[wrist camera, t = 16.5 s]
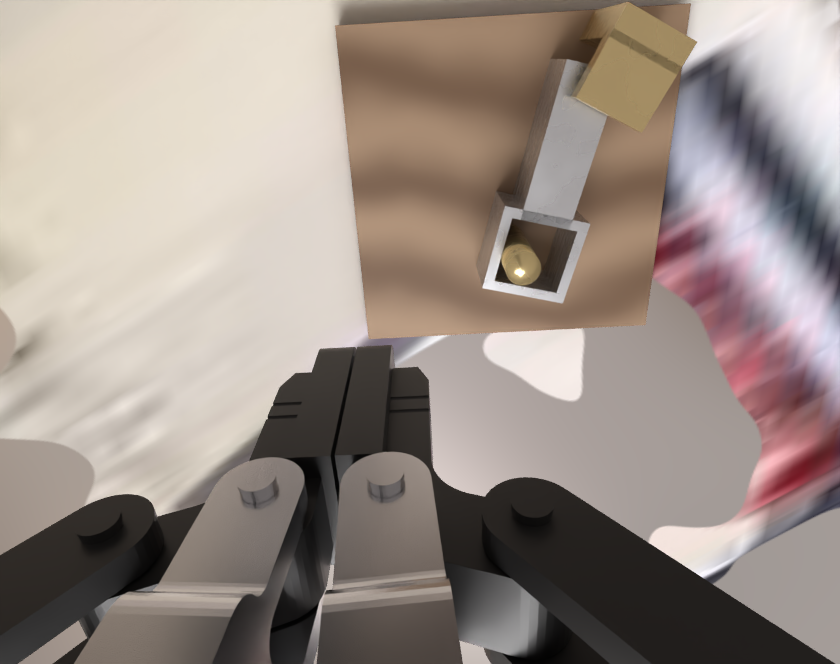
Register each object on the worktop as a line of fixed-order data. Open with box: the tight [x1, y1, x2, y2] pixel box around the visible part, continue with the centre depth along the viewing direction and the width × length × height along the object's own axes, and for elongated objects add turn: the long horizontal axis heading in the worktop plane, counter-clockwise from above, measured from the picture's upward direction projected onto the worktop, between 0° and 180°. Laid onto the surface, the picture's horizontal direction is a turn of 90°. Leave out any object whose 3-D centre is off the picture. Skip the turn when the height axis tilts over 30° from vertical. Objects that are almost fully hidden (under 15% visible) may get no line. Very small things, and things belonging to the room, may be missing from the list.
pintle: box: [500, 224, 541, 286], centre depth 34 cm, size 2×2×6 cm
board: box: [335, 4, 691, 339], centre depth 36 cm, size 20×20×1 cm
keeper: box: [571, 2, 697, 133], centre depth 30 cm, size 5×4×6 cm
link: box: [476, 59, 607, 303], centre depth 33 cm, size 13×5×4 cm, turn 168°
